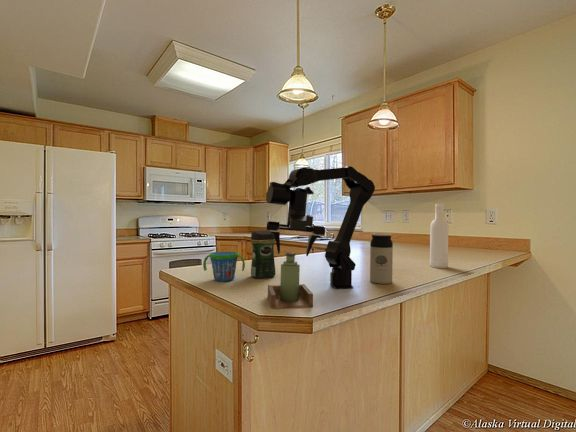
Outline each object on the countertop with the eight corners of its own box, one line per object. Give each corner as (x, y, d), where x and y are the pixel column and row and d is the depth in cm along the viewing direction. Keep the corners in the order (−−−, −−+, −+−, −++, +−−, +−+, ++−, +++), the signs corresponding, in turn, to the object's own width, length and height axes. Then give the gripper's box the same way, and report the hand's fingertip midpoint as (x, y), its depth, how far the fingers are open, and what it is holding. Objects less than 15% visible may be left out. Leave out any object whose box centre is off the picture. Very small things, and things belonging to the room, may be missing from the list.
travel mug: (373, 278, 122) (373, 232, 122) (394, 281, 118) (394, 233, 118) (367, 282, 115) (367, 233, 115) (389, 285, 111) (389, 234, 111)
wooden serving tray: (304, 295, 97) (304, 284, 97) (313, 307, 85) (313, 293, 85) (267, 297, 95) (267, 285, 95) (271, 308, 84) (271, 295, 84)
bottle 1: (292, 295, 94) (293, 251, 94) (302, 300, 89) (303, 254, 89) (276, 298, 91) (277, 252, 91) (285, 303, 87) (287, 255, 86)
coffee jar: (270, 273, 131) (270, 229, 130) (277, 277, 123) (278, 230, 123) (248, 275, 127) (248, 229, 126) (254, 279, 119) (254, 230, 119)
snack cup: (198, 281, 115) (198, 254, 115) (210, 276, 125) (210, 250, 125) (239, 283, 112) (239, 255, 112) (248, 277, 123) (248, 251, 123)
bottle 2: (425, 265, 152) (426, 204, 151) (437, 264, 155) (438, 204, 155) (440, 268, 144) (441, 203, 144) (451, 267, 148) (452, 204, 147)
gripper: (269, 202, 93) (264, 255, 93) (331, 208, 94) (326, 260, 94) (268, 204, 104) (264, 251, 104) (323, 210, 106) (319, 256, 105)
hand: (292, 254), depth 101 cm, fingers open, 9 cm apart
